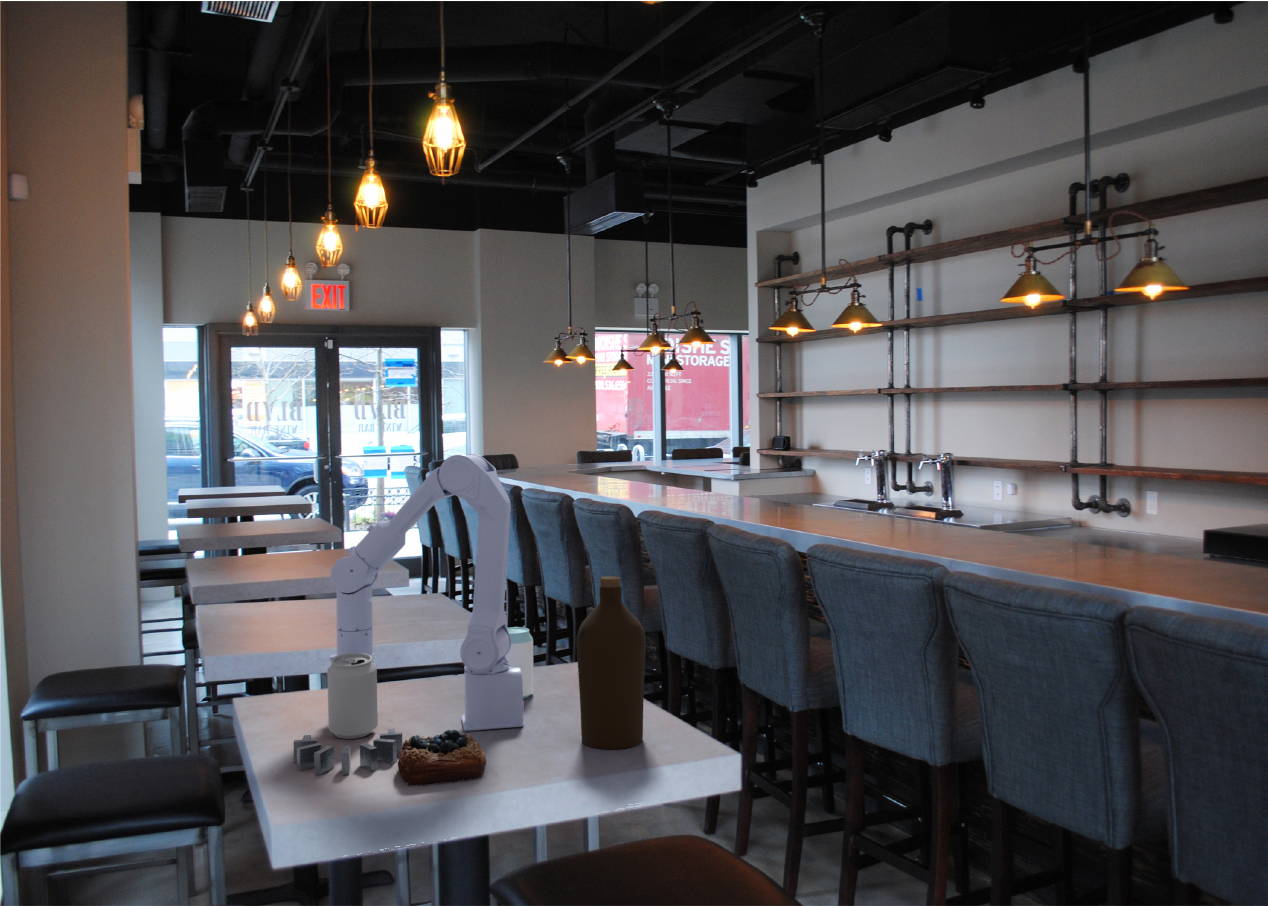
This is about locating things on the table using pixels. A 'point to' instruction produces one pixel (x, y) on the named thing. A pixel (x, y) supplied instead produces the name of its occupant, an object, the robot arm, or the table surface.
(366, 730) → the can
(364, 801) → the table surface
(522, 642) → the can
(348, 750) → the ring collar
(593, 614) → the olive oil
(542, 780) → the table surface
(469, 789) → the table surface
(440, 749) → the pastry
